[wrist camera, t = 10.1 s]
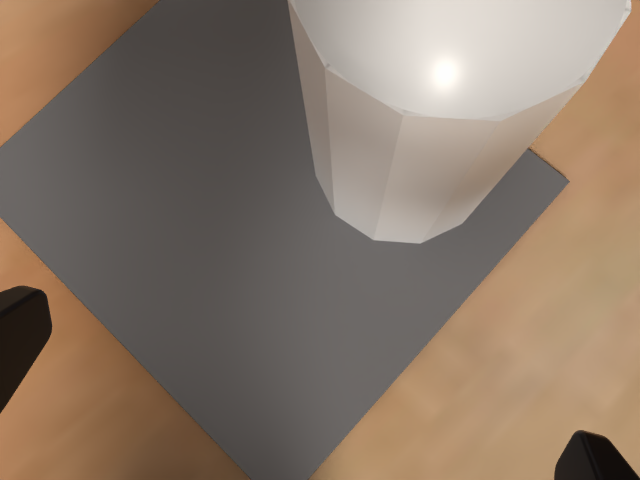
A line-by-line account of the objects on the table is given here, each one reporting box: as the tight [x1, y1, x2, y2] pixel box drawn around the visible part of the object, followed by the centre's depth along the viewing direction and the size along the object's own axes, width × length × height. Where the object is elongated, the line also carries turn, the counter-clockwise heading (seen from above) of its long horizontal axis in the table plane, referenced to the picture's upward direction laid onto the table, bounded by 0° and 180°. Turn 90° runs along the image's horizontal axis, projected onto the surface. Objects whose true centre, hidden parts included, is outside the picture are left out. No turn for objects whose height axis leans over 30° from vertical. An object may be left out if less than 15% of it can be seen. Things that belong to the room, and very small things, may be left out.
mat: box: [0, 0, 570, 480], centre depth 24 cm, size 20×18×1 cm
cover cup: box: [288, 0, 631, 244], centre depth 18 cm, size 7×7×12 cm
